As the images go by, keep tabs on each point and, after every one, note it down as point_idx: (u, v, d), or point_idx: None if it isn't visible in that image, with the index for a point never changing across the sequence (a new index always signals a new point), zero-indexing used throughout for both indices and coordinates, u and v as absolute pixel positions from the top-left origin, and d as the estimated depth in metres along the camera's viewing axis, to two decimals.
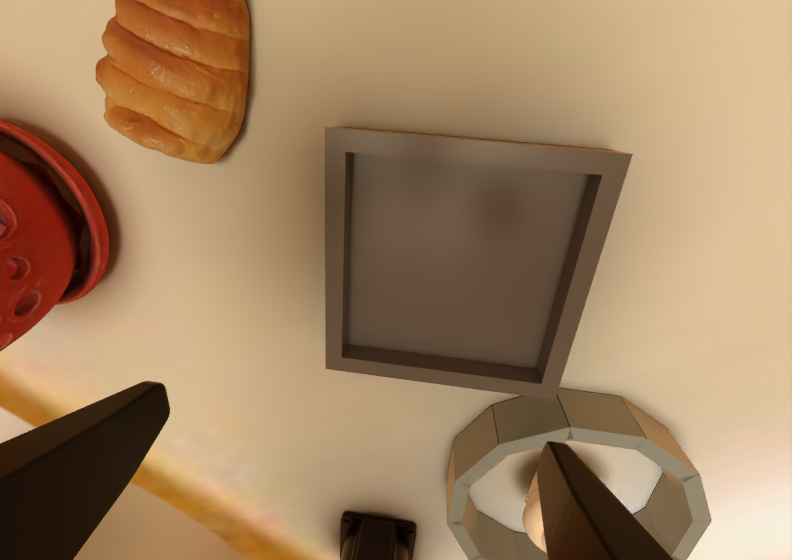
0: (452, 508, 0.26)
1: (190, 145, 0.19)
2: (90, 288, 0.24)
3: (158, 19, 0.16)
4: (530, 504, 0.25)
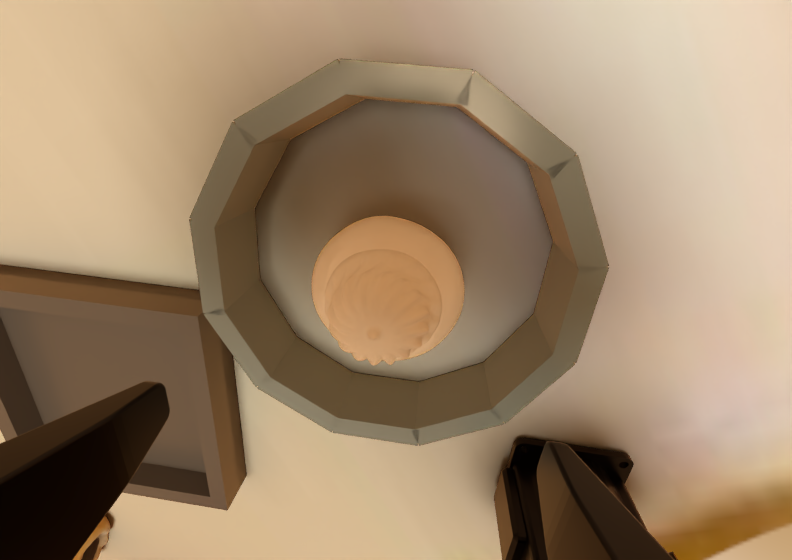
0: (386, 437, 0.18)
1: None
2: None
3: None
4: None
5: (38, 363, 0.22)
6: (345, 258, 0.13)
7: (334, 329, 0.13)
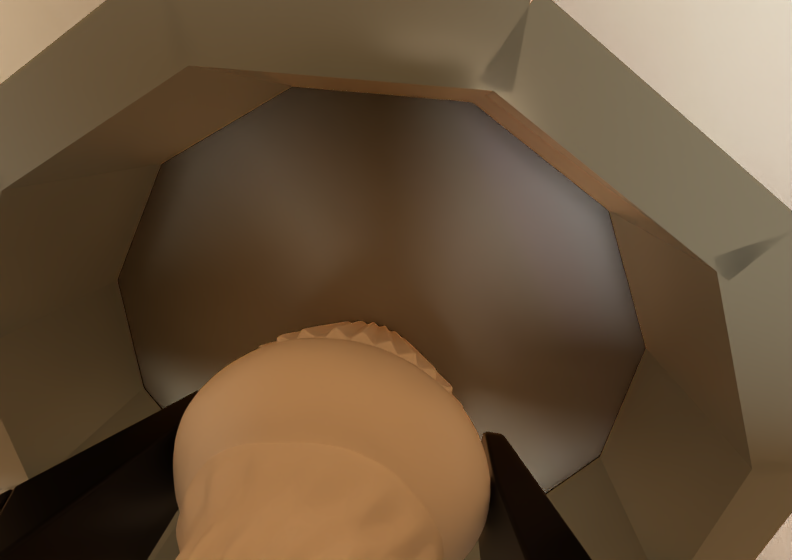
0: None
1: None
2: None
3: None
4: None
5: None
6: (218, 453, 0.06)
7: None
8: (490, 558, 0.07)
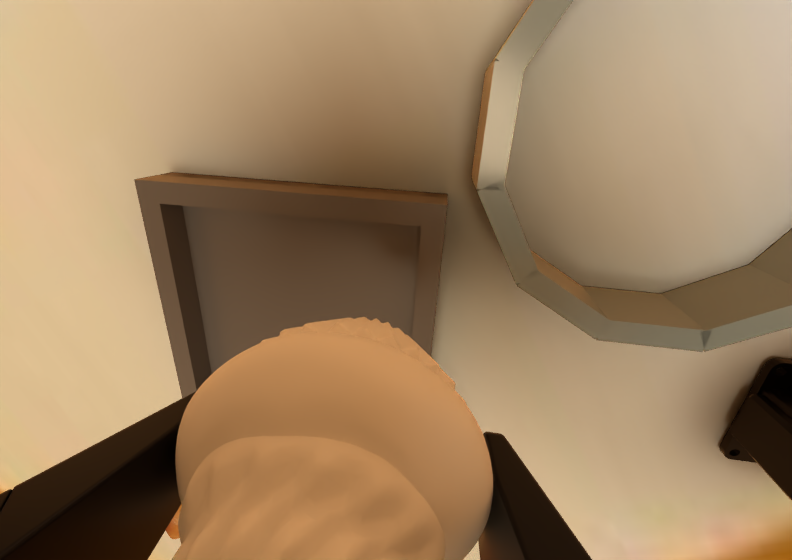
0: (664, 343, 0.16)
1: None
2: None
3: None
4: None
5: (219, 287, 0.20)
6: (221, 446, 0.06)
7: None
8: (490, 558, 0.07)
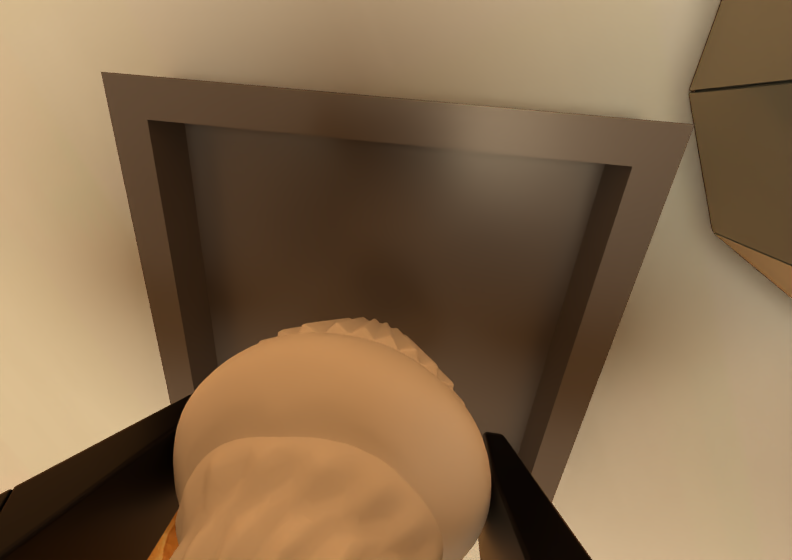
0: None
1: None
2: None
3: None
4: None
5: (241, 274, 0.13)
6: (219, 446, 0.06)
7: None
8: (490, 558, 0.07)
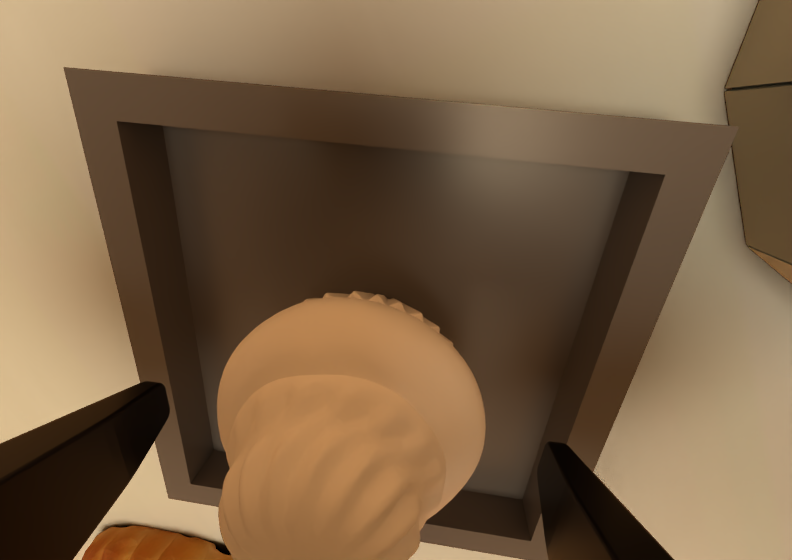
0: None
1: None
2: None
3: None
4: None
5: (227, 289, 0.12)
6: (263, 386, 0.07)
7: None
8: None
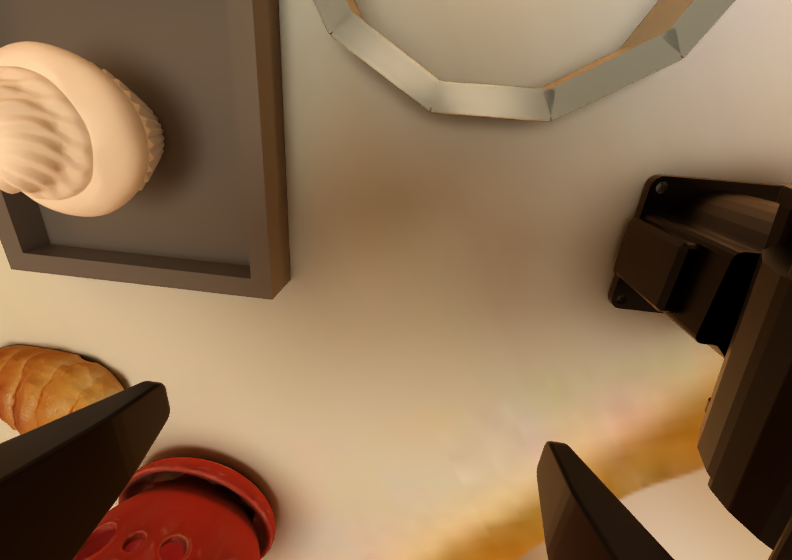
0: (506, 111, 0.13)
1: (78, 404, 0.23)
2: (244, 491, 0.26)
3: (1, 409, 0.23)
4: None
5: None
6: None
7: None
8: None
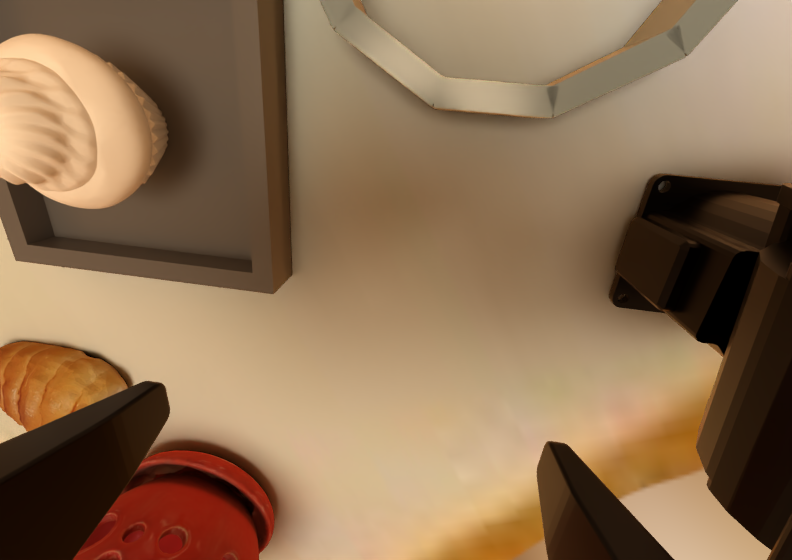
0: (508, 108, 0.13)
1: (81, 399, 0.23)
2: (243, 485, 0.26)
3: (7, 404, 0.24)
4: None
5: None
6: None
7: None
8: None
